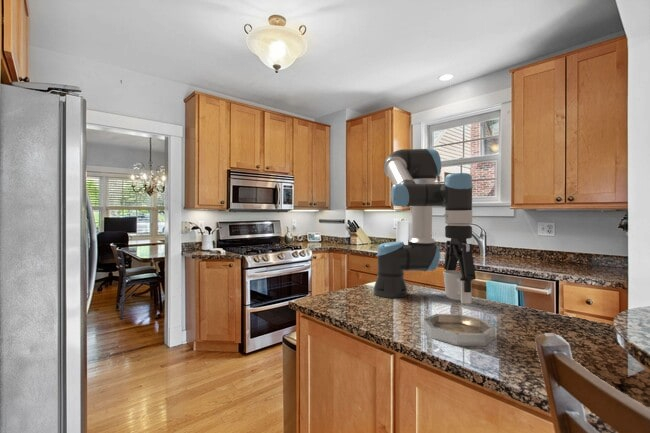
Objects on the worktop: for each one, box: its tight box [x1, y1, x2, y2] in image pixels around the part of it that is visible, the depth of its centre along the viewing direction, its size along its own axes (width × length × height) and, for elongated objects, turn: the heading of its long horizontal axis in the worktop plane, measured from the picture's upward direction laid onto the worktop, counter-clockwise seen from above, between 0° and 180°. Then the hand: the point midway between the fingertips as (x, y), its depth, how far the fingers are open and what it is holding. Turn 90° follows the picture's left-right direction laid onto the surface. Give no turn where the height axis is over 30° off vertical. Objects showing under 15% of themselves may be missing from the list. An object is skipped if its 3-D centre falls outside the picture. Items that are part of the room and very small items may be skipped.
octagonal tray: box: [423, 313, 496, 347], centre depth 97 cm, size 18×18×3 cm
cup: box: [442, 269, 462, 301], centre depth 97 cm, size 11×8×8 cm
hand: (458, 298), depth 97 cm, fingers closed on cup, 11 cm apart
